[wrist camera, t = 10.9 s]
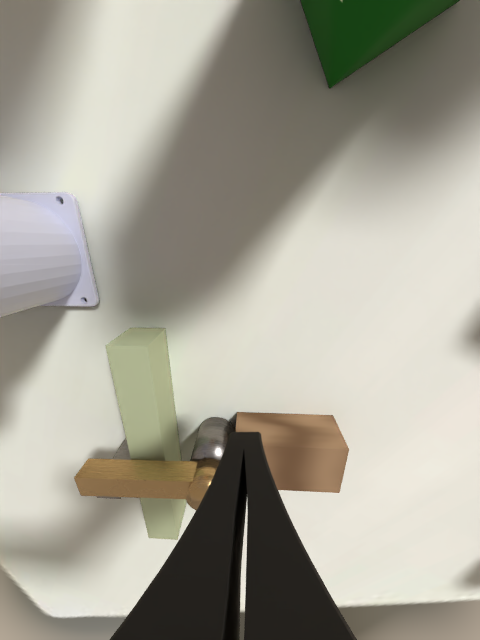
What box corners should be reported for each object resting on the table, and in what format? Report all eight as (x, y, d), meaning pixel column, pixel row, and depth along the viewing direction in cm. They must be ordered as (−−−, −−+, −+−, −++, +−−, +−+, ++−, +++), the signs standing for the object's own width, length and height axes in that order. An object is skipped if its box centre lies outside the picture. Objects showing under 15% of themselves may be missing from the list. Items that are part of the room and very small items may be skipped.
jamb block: (237, 451, 23) (234, 487, 19) (237, 412, 21) (234, 444, 18) (326, 454, 22) (339, 492, 19) (332, 415, 21) (349, 449, 17)
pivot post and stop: (128, 445, 23) (97, 497, 19) (121, 413, 22) (85, 461, 17) (235, 450, 23) (231, 504, 18) (235, 417, 21) (230, 467, 17)
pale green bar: (161, 501, 26) (148, 537, 23) (130, 327, 19) (105, 345, 15) (186, 502, 26) (177, 539, 23) (165, 328, 19) (147, 346, 15)
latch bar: (226, 458, 18) (223, 487, 16) (227, 483, 19) (224, 513, 17) (87, 455, 18) (66, 482, 16) (95, 478, 19) (76, 507, 17)
